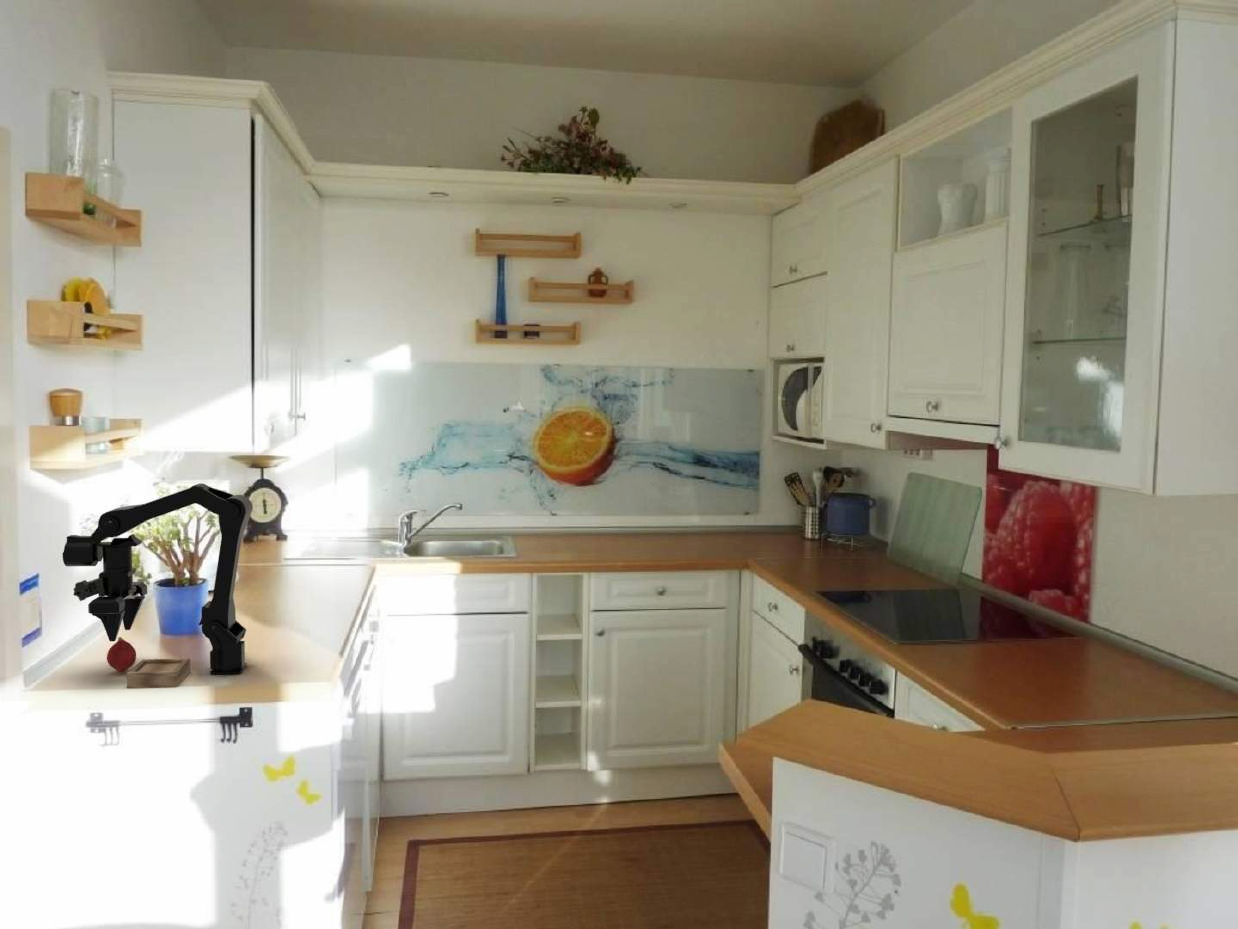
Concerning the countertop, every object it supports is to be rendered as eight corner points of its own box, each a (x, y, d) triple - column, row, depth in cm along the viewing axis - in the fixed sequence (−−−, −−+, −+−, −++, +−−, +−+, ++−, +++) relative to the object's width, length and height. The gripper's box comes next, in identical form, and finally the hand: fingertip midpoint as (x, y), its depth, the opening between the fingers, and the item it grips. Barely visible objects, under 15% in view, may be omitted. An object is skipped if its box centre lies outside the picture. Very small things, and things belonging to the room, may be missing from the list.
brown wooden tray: (190, 672, 219) (190, 658, 219) (176, 687, 209) (176, 672, 209) (143, 673, 217) (142, 659, 217) (126, 688, 208) (126, 673, 207)
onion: (141, 668, 221) (140, 634, 220) (129, 676, 215) (128, 641, 214) (115, 668, 221) (114, 633, 220) (102, 676, 215) (101, 640, 214)
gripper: (95, 558, 223) (97, 625, 225) (60, 575, 205) (63, 648, 207) (147, 557, 225) (149, 624, 227) (117, 574, 207) (119, 647, 208)
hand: (120, 635), depth 217 cm, fingers open, 9 cm apart
